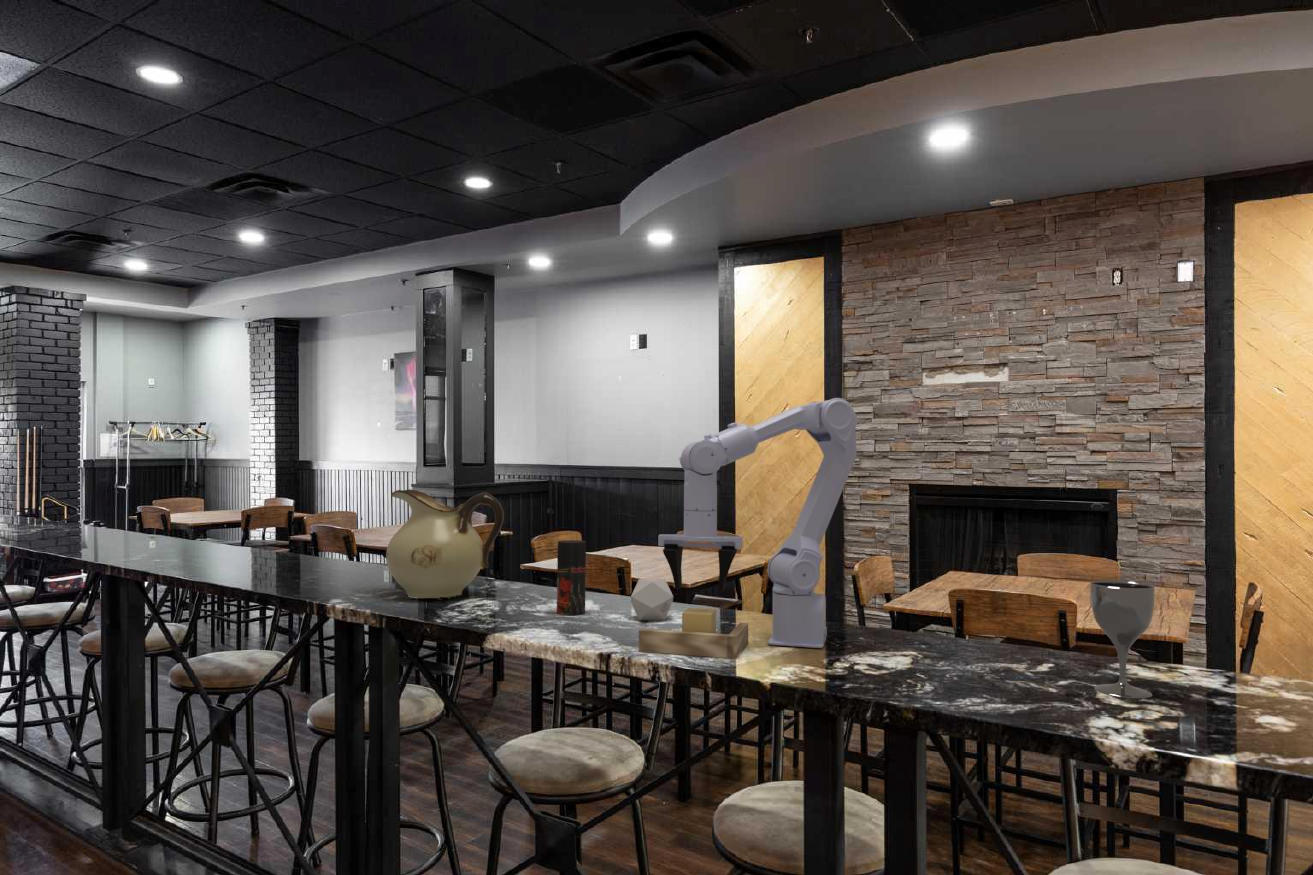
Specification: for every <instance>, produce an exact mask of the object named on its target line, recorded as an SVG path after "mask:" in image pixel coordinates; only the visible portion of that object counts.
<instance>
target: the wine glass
mask: <svg viewBox="0 0 1313 875" xmlns="http://www.w3.org/2000/svg"><path fill="white" fill-rule="evenodd" d="M1089 583H1090V584H1089V585H1090V586H1089V589H1090V590H1089V593H1090V595H1089V596H1090V605H1091V609H1092V614H1093V618H1094V620H1095V622H1096V623H1097V625H1098V627H1100V629H1101V630H1102V631H1103V633H1104V634H1106V635H1107V637H1108V638H1109V640H1110V641H1111V642H1112V644H1113V645H1114V648H1115V649H1116V653H1117V658H1118V659H1117V660H1118V664H1119V665H1118V666H1119V680H1118V681H1117V682H1115V683H1107V684H1106V683H1104V684H1103V683H1102V684H1097V685H1095V686H1094V690H1096V691H1097V692H1099V693H1101V694H1104V695H1108V696H1112V697H1119V698H1124V699H1125V698H1126V699H1148V698H1152V697H1153V693H1152V692H1151V691H1148V690H1147V689H1143V688H1141V687H1137V686H1133V685H1130V683H1128V681H1127V662H1128V661H1127V660H1128V655H1129V654H1128V653H1129V652H1130V651H1129V650H1131V649H1130V648H1131V647H1132V645H1133V644H1134V643H1135V642H1136V640H1138V639H1139V638H1140V637H1141V635H1143V634H1144V633H1145V632H1146V631H1147V629H1149V628H1150V625H1151V623H1152V619H1153V617H1154V616H1153V615H1154V610H1155V601H1156V597H1155V596H1156V592H1155V591H1156V590H1155V589H1156V588H1155V585H1153V584H1149V583H1144V582H1136V581H1126V580H1113V579H1112V580H1110V579H1109V580H1108V579H1107V580H1102V579H1101V580H1100V579H1099V580H1092V581H1090V582H1089Z"/></svg>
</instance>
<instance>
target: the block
mask: <svg viewBox="0 0 1313 875" xmlns="http://www.w3.org/2000/svg"><path fill="white" fill-rule="evenodd" d="M681 631H683V632H699V633H714V634H717V609H712V608H711V609H708V608H693V607H692V608H691V607H690V608H689V607H688V608H686V609H685V610H684V611H683V612H682V613H681Z"/></svg>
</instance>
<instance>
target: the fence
mask: <svg viewBox="0 0 1313 875" xmlns="http://www.w3.org/2000/svg"><path fill="white" fill-rule="evenodd" d="M748 644H749V622H739V623H738V624H737V625H736V626H735V628H733V629H732V631H730V633H729V634H728V633H727V634H726V633H716V634H714V633H699V632H683V631H682V630H680V631H679V630H667V629H654V628H651V629H650V628H640V629H639V630H638V652H639V653H640V652H641V653H655V654H668V655H682V656H694V657H695V656H697V657H707V658H708V657H710V658H722V659H737V658H738V657H739V656H740V655H741V653H742V652H743V651H744V649H745V648H746V647H747V645H748Z"/></svg>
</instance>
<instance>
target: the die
mask: <svg viewBox="0 0 1313 875" xmlns="http://www.w3.org/2000/svg"><path fill="white" fill-rule="evenodd" d="M630 601H631V604H632V607H633V610H634V612H635V614H636V617H637V620H638V621H666V618H667V616H668V614H669V612H670V609H671V606H672V604H673V601H674V595H673V593H672V591H671V589H670V587H669V585H668V583H667V580H666V578H638V580H637V582H636V585H635V587H634V589H633V591H632V593H631V595H630Z"/></svg>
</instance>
